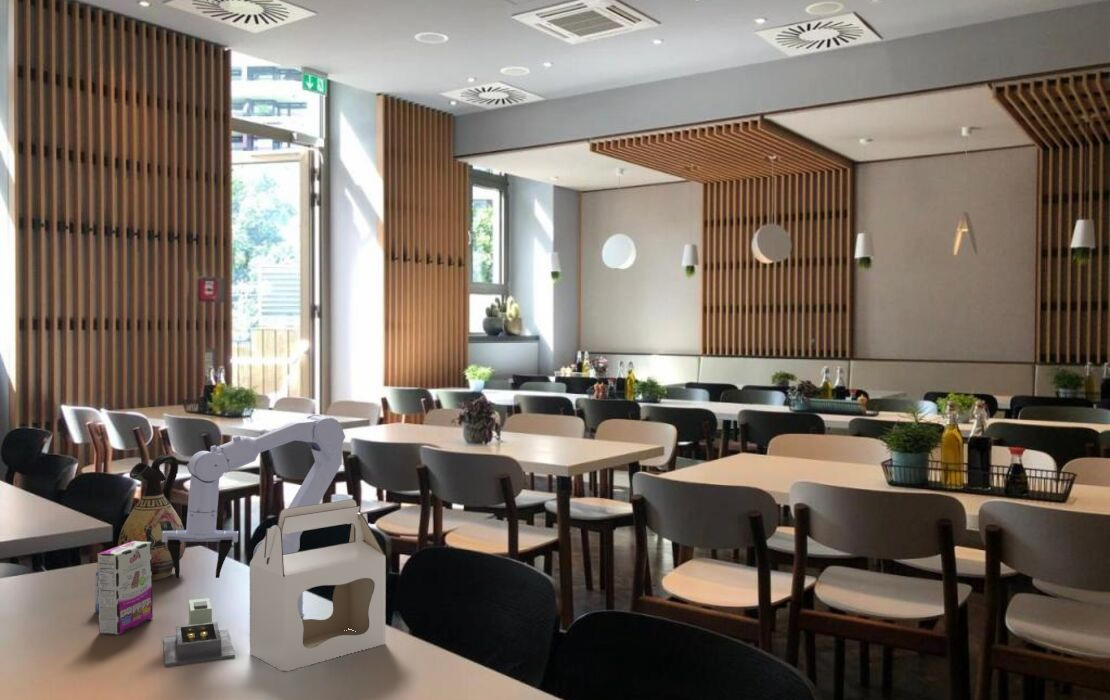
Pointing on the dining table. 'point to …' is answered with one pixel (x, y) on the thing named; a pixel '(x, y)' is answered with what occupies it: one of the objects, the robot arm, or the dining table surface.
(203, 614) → the pale green block
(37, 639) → the dining table surface
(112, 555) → the candy bar box
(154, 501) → the ceramic jug
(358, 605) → the gable box
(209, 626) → the chassis
